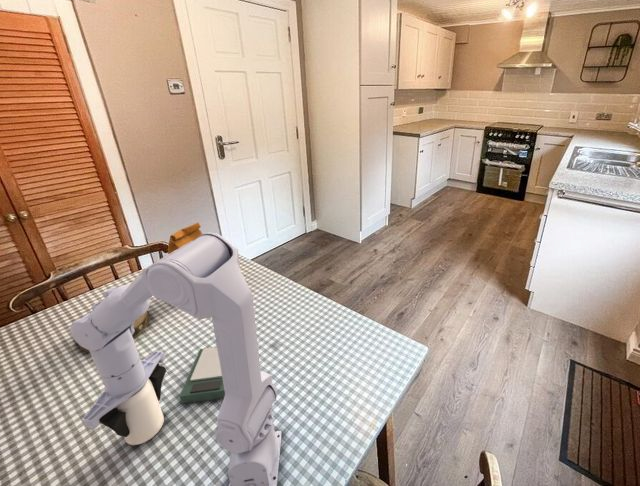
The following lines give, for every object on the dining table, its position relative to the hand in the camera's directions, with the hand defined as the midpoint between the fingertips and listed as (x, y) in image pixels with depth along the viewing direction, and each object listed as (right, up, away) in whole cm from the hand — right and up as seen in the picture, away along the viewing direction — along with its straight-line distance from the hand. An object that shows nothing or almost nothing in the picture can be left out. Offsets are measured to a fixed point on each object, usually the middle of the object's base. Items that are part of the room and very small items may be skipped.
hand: (140, 415), depth 59 cm
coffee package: (-14, +14, +46) cm, 51 cm away
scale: (+8, +1, +13) cm, 15 cm away
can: (0, -4, +2) cm, 4 cm away
